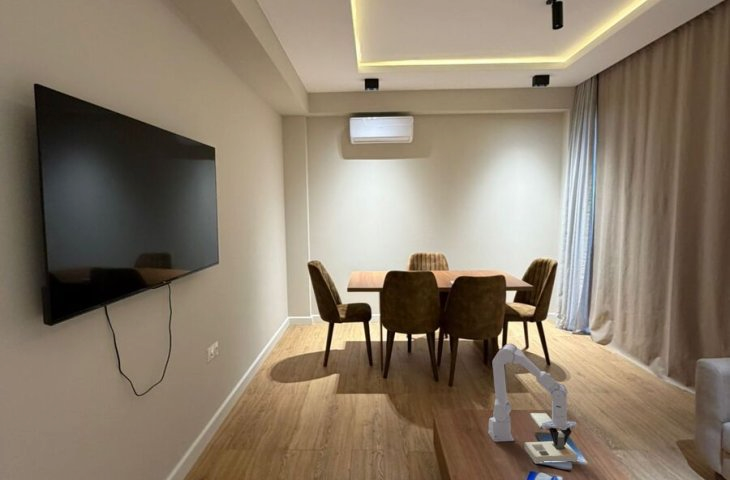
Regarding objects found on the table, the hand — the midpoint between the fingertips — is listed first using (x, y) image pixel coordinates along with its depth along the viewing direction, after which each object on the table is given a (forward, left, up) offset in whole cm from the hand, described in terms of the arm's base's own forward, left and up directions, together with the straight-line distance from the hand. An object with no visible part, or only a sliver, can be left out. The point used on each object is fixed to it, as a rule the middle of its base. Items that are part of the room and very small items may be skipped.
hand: (559, 443), depth 163 cm
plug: (0, 0, -3) cm, 3 cm away
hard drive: (+6, +26, -5) cm, 27 cm away
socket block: (-4, -1, -4) cm, 6 cm away
